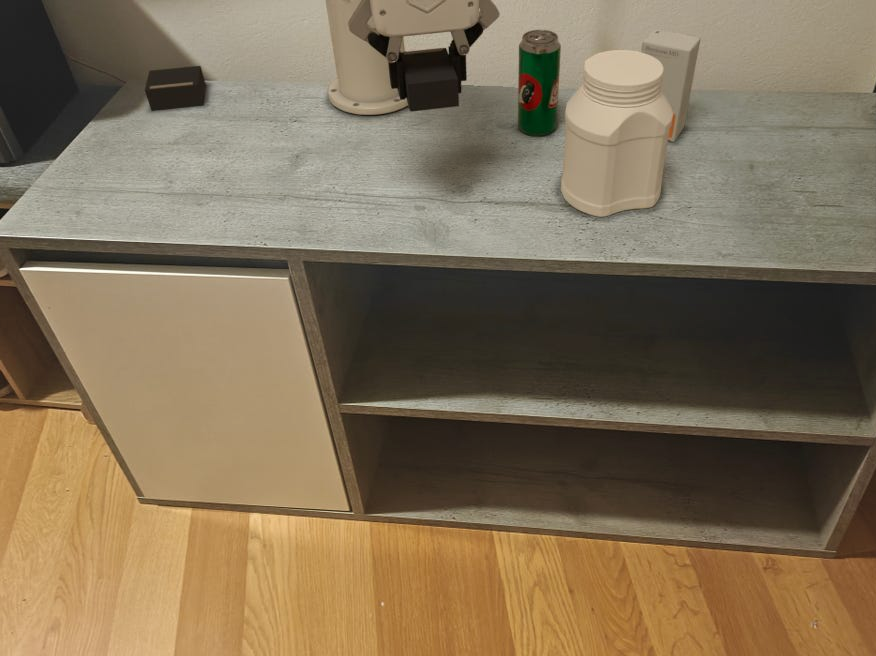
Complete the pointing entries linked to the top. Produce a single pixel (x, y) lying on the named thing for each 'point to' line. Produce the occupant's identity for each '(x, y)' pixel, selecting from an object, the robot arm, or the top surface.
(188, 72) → the charcoal pad
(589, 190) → the jar
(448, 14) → the robot arm
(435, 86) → the black box
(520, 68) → the soda can
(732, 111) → the top surface
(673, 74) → the cosmetic box
